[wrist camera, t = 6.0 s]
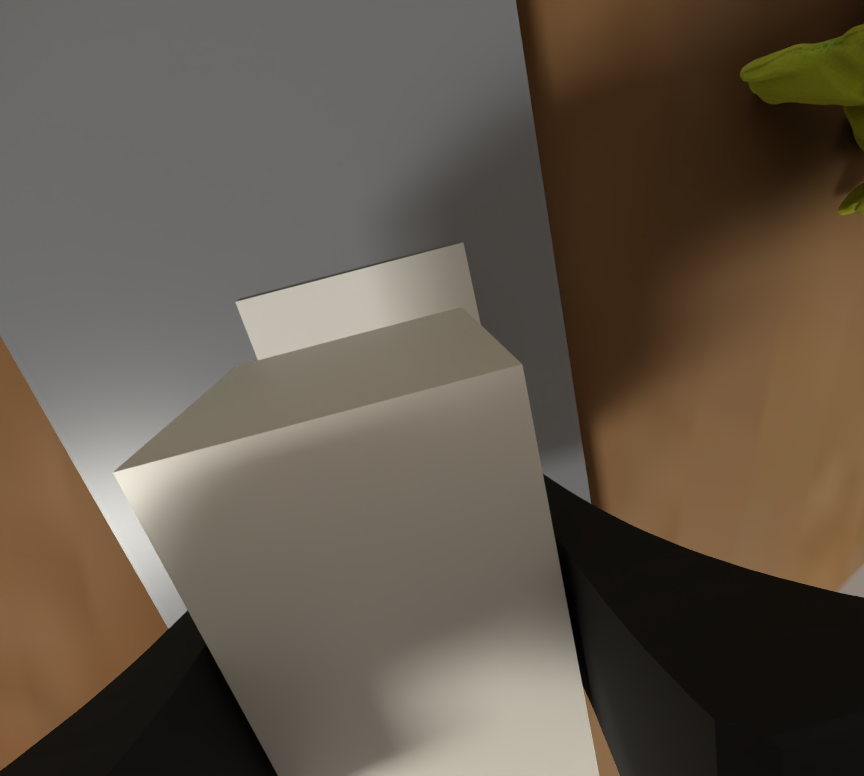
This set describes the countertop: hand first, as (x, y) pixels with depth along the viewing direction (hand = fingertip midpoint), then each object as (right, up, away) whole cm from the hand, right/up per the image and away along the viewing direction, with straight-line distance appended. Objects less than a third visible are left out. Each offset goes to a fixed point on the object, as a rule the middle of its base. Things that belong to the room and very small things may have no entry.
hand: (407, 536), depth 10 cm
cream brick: (0, 0, +1) cm, 1 cm away
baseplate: (-3, +4, +5) cm, 7 cm away
